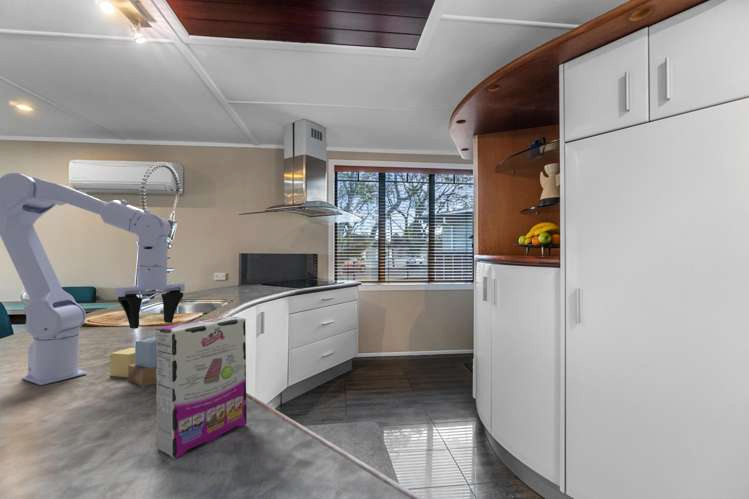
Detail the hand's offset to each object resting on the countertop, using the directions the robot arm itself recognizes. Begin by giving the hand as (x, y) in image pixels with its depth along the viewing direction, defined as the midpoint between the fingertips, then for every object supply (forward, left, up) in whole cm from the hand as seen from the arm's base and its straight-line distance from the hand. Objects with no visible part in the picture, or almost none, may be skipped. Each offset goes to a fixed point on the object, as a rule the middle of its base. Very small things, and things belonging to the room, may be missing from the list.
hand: (151, 325), depth 80 cm
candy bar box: (+38, -14, -11) cm, 42 cm away
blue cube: (+6, -3, -7) cm, 10 cm away
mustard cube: (-3, -3, -10) cm, 11 cm away
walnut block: (+6, -3, -11) cm, 13 cm away
